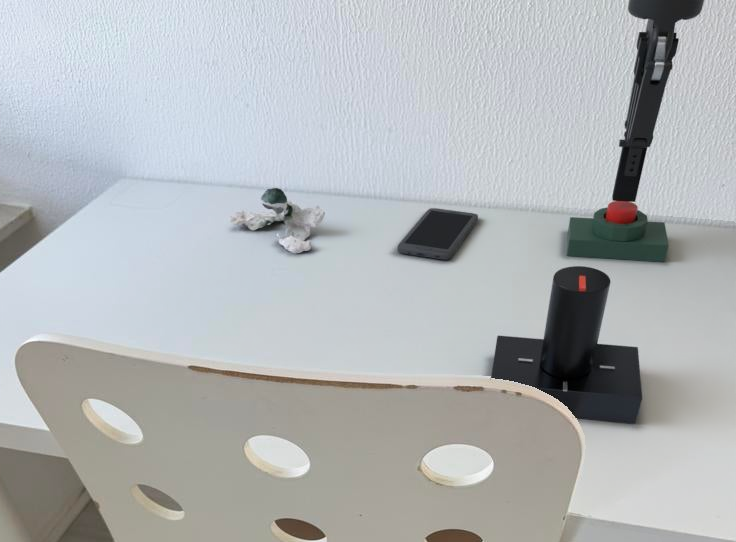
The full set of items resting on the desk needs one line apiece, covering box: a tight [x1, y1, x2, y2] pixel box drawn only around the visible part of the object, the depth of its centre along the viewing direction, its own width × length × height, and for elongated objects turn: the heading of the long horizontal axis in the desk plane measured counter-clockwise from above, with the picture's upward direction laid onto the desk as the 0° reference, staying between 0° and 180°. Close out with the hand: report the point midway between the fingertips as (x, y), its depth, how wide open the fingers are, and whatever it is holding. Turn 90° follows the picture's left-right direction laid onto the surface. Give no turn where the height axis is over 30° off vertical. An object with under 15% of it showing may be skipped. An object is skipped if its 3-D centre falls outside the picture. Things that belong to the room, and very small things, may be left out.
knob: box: [540, 265, 611, 378], centre depth 72 cm, size 5×5×9 cm
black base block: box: [490, 335, 643, 425], centre depth 76 cm, size 14×9×3 cm, turn 78°
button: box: [606, 200, 639, 224], centre depth 97 cm, size 4×4×2 cm
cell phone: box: [397, 207, 479, 261], centre depth 104 cm, size 7×14×1 cm, turn 157°
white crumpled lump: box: [228, 187, 326, 255], centre depth 105 cm, size 15×8×8 cm
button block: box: [566, 206, 669, 263], centre depth 99 cm, size 12×7×4 cm, turn 78°
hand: (623, 198), depth 96 cm, fingers closed
